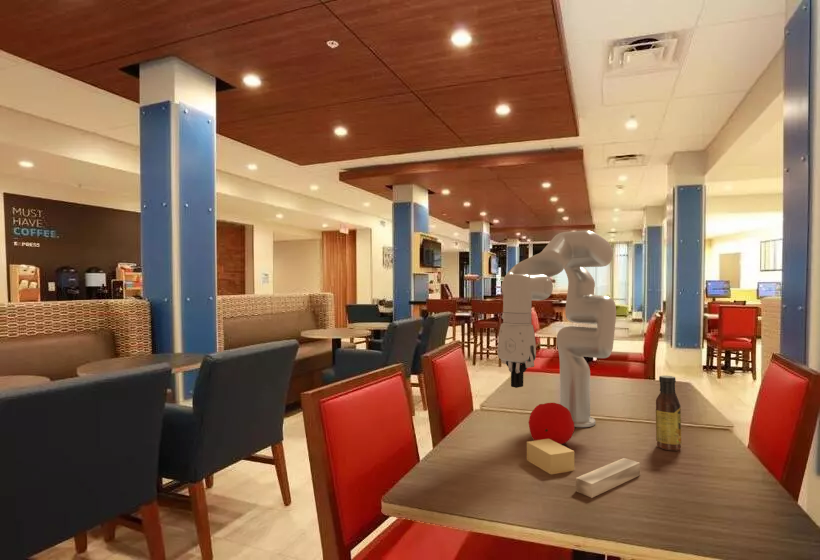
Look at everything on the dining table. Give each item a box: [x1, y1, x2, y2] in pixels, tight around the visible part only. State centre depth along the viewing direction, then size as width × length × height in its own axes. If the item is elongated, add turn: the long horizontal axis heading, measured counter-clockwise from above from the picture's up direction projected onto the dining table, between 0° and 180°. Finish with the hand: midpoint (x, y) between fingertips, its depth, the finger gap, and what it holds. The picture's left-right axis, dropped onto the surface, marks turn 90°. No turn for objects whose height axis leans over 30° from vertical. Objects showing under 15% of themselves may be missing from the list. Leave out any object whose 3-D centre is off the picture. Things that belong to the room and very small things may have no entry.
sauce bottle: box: [655, 375, 682, 452], centre depth 133 cm, size 6×6×20 cm
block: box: [526, 439, 575, 475], centre depth 121 cm, size 10×7×5 cm
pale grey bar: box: [575, 457, 641, 499], centre depth 110 cm, size 4×20×3 cm, turn 126°
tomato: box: [528, 402, 575, 445], centre depth 137 cm, size 13×13×13 cm
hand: (517, 386), depth 129 cm, fingers closed
